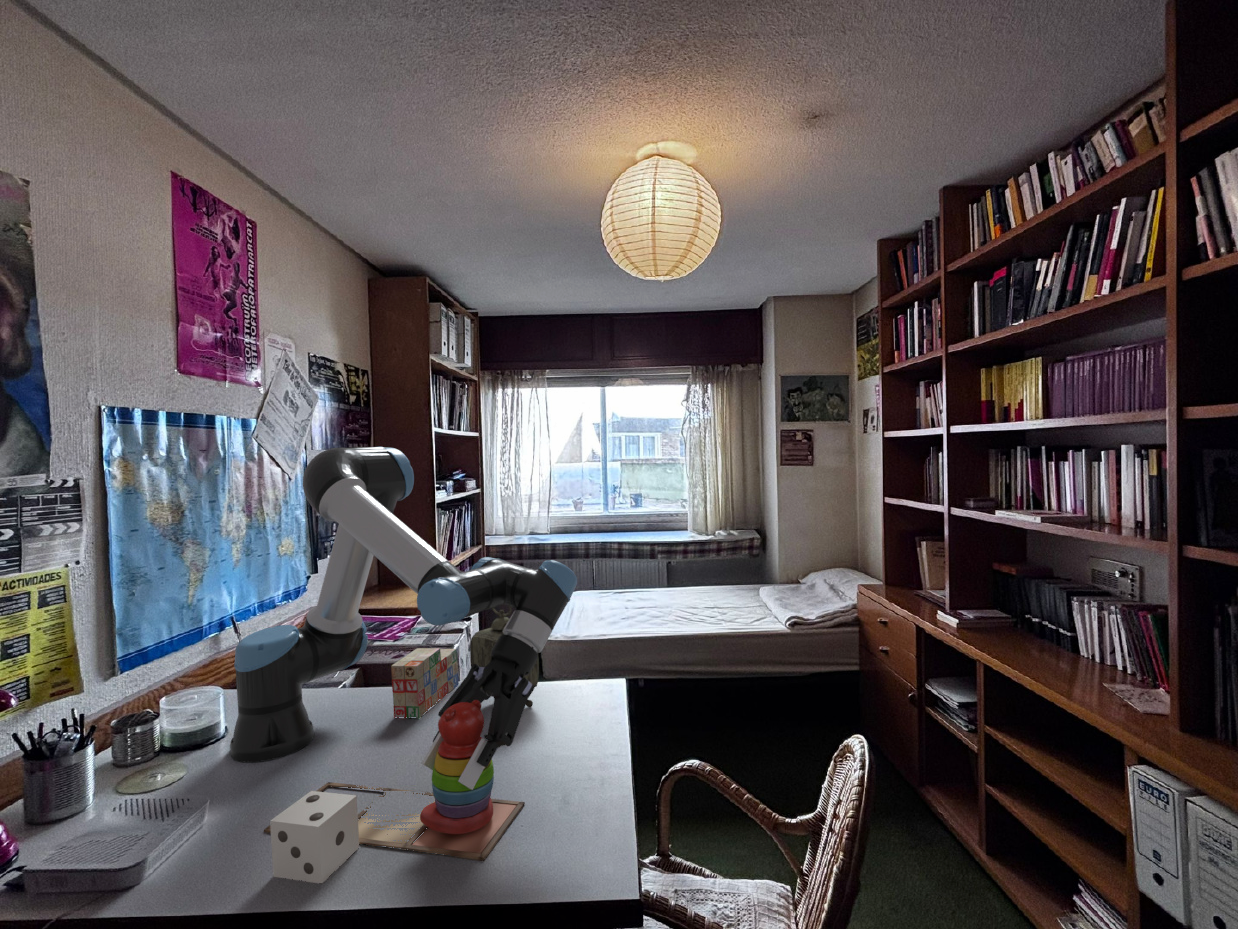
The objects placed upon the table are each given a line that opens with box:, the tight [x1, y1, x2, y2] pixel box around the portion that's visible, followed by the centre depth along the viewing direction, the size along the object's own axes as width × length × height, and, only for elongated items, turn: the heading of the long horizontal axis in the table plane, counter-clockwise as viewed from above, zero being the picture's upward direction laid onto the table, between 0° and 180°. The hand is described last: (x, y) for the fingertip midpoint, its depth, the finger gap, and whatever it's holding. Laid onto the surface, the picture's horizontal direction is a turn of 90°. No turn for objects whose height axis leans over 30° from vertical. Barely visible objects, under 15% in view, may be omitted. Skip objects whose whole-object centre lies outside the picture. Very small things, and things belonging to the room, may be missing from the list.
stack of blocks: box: [390, 647, 460, 719], centre depth 152 cm, size 21×6×12 cm, turn 171°
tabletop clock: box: [469, 606, 540, 708], centre depth 146 cm, size 14×9×25 cm, turn 49°
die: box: [269, 790, 360, 884], centre depth 92 cm, size 8×8×8 cm
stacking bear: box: [420, 700, 495, 834], centre depth 99 cm, size 11×10×18 cm
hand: (446, 776), depth 97 cm, fingers closed on stacking bear, 9 cm apart
